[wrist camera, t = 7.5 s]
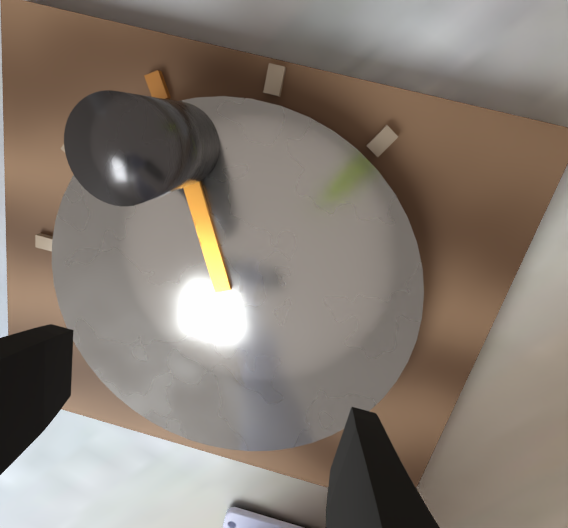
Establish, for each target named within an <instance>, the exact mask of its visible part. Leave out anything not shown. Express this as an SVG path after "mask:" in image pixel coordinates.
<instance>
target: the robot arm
mask: <svg viewBox="0 0 568 528" xmlns="http://www.w3.org/2000/svg"><path fill="white" fill-rule="evenodd" d="M73 331H74V330H71V329H68V328H64V327H60V326H57V325H53V324H49V325H45V326H40V327H37V328H33V329H29V330H26V331H22V332H19V333H15V334H12V335H9V336H5V337H2V338H0V475H1V474H2V473H3V472H4V471H5V470H6V469H7V468H8V467H9V466H10V465H11V464H12V463H13V462H14V461H15V460H16V459H17V458H18V457H19V456H20V455H21V454H22V453H23V451H24V450H25V449H26V448H27V447H28V446H29V445H30V444H31V443H32V442H33V441H34V440H35V439H36V438H37V437H38V436H39V435H40V434H41V433H42V432H43V431H44V430H45V428H46V427H47V426H48V425H49V424H50V422H51V421H52V420H53V419H54V417H55V416H56V415H57V413H58V412H59V411H60V410H61V408H62V407H63V406H64V404H65V403H66V402H67V400H68V399H69V398H70V396H71V381H72V356H73ZM223 528H304V527H300V526H297V525H294V524H290V523H287V522H284V521H280V520H277V519H274V518H270V517H267V516H264V515H260V514H257V513H254V512H250V511H247V510H244V509H241V508H237V507H230V508H229V509H228V510H227V512H226V515H225V520H224V524H223ZM326 528H439V526H438V524H437V523H436V521H435V520H434V518H433V516H432V515H431V513H430V511H429V510H428V508H427V506H426V505H425V503H424V501H423V500H422V498H421V496H420V494H419V493H418V491H417V489H416V487H415V486H414V484H413V482H412V480H411V478H410V477H409V475H408V473H407V471H406V469H405V468H404V466H403V464H402V462H401V460H400V458H399V456H398V454H397V452H396V450H395V449H394V447H393V445H392V443H391V441H390V439H389V437H388V435H387V433H386V431H385V429H384V427H383V425H382V423H381V421H380V419H379V417H378V415H377V414H376V413H373V412H370V411H366V410H362V409H359V408H355V407H351V410H350V413H349V416H348V419H347V421H346V424H345V427H344V430H343V433H342V436H341V439H340V442H339V445H338V448H337V451H336V454H335V457H334V460H333V463H332V466H331V469H330V476H329V486H328V496H327V507H326Z"/></svg>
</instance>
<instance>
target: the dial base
mask: <svg viewBox="0 0 568 528" xmlns="http://www.w3.org/2000/svg"><path fill="white" fill-rule="evenodd" d="M1 34H2V77H3V121H4V164H5V208H6V251H7V295H8V336H9V335H12V334H15V333H19V332H22V331H26V330H29V329H33V328H37V327H40V326H45V325H49V324H53V325H57V326H60V327H64V328H67V327H66V324H65V321H64V319H63V316H62V313H61V311H60V308H59V304H58V300H57V296H56V291H55V287H54V280H53V271H52V239H53V233H54V227H55V220H56V217H57V213H58V210H59V207H60V204H61V200H62V197H63V195H64V193H65V191H66V189H67V187H68V185H69V183H70V181H71V179H72V177H73V175H74V174H73V172H72V171H71V169H70V166H69V164H68V161H67V158H66V154H65V149H64V131H65V126H66V122H67V119H68V117H69V115H70V113H71V111H72V110H73V108H74V107H75V106H76V105H77V103H78V102H79V101H81V100H82V99H83V98H85V97H86V96H88V95H90V94H92V93H95V92H99V91H105V90H112V91H120V92H126V93H132V94H138V95H144V96H150V97H156V98H162V99H168V100H174V101H181V100H186V99H191V98H197V97H217V96H227V97H238V98H248V99H255V100H259V101H263V102H267V103H271V104H275V105H280V106H283V107H285V108H288V109H290V110H293V111H295V112H298V113H300V114H303V115H305V116H308V117H310V118H312V119H314V120H315V121H317V122H319V123H321V124H322V125H324V126H326V127H328V128H330V129H331V130H333V131H335V132H336V133H337V134H339V135H340V136H341V137H342V138H344V139H345V140H346V141H348V142H349V143H350V144H352V145H353V146H354V147H355V148H357V149H358V150H359V151H360V152H361V153H362V154H363V155H364V156H365V157H366V159H367V160H368V161H369V162H370V163H371V164H372V165H373V166H374V167H375V168H376V169H377V170H378V171H379V173H380V174H381V175H382V177H383V178H384V179H385V181H386V182H387V183H388V185H389V186H390V188H391V189H392V190H393V192H394V193H395V195H396V197H397V198H398V200H399V202H400V204H401V206H402V208H403V210H404V211H405V213H406V215H407V217H408V219H409V222H410V225H411V227H412V230H413V233H414V236H415V238H416V241H417V244H418V249H419V254H420V259H421V263H422V268H423V283H424V301H423V313H422V320H421V324H420V328H419V333H418V337H417V341H416V343H415V346H414V348H413V351H412V353H411V356H410V358H409V361H408V363H407V364H406V366H405V368H404V370H403V371H402V373H401V375H400V376H399V378H398V380H397V381H396V383H395V384H394V385H393V386H392V388H391V389H390V390H389V391H388V393H387V394H386V395H385V396H384V398H383V399H382V400H381V401H380V402H379V403H377V404H376V405H375V406H374V407H373V408H372V409H371V410H370V412H373V413H376V414H377V415H378V417H379V419H380V421H381V423H382V425H383V427H384V429H385V431H386V433H387V435H388V437H389V439H390V441H391V443H392V445H393V447H394V449H395V450H396V452H397V454H398V456H399V458H400V460H401V462H402V464H403V466H404V468H405V469H406V471H407V473H408V475H409V477H410V478H411V480H412V482H413V484H414V486H415V487H417V485H418V483H419V481H420V479H421V477H422V474H423V472H424V470H425V468H426V466H427V464H428V462H429V459H430V457H431V455H432V453H433V451H434V449H435V447H436V444H437V442H438V440H439V438H440V436H441V434H442V432H443V430H444V427H445V425H446V423H447V421H448V419H449V417H450V415H451V412H452V410H453V408H454V406H455V404H456V402H457V400H458V397H459V395H460V393H461V391H462V389H463V387H464V385H465V382H466V380H467V378H468V376H469V374H470V372H471V370H472V367H473V365H474V363H475V361H476V359H477V357H478V355H479V352H480V350H481V348H482V346H483V344H484V342H485V340H486V337H487V335H488V333H489V331H490V329H491V327H492V325H493V322H494V320H495V318H496V316H497V314H498V312H499V310H500V307H501V305H502V303H503V301H504V299H505V297H506V295H507V292H508V290H509V288H510V286H511V284H512V282H513V280H514V278H515V275H516V273H517V271H518V269H519V267H520V265H521V263H522V260H523V258H524V256H525V254H526V252H527V250H528V248H529V245H530V243H531V241H532V239H533V237H534V235H535V233H536V230H537V228H538V226H539V224H540V222H541V220H542V218H543V215H544V213H545V211H546V209H547V207H548V205H549V203H550V200H551V198H552V196H553V194H554V192H555V190H556V188H557V185H558V183H559V181H560V179H561V177H562V175H563V173H564V170H565V168H566V166H567V164H568V127H564V126H559V125H555V124H551V123H546V122H542V121H538V120H534V119H529V118H525V117H521V116H516V115H512V114H508V113H504V112H499V111H495V110H491V109H486V108H482V107H478V106H474V105H469V104H465V103H461V102H456V101H452V100H448V99H444V98H439V97H435V96H431V95H427V94H422V93H418V92H414V91H409V90H405V89H401V88H397V87H392V86H388V85H384V84H379V83H375V82H371V81H367V80H362V79H358V78H354V77H349V76H345V75H341V74H337V73H332V72H328V71H324V70H319V69H315V68H311V67H307V66H302V65H298V64H294V63H289V62H285V61H281V60H277V59H272V58H268V57H264V56H260V55H255V54H251V53H247V52H242V51H238V50H234V49H230V48H225V47H221V46H217V45H212V44H208V43H204V42H200V41H195V40H191V39H187V38H182V37H178V36H174V35H170V34H165V33H161V32H157V31H152V30H148V29H144V28H140V27H135V26H131V25H127V24H122V23H118V22H114V21H110V20H105V19H101V18H97V17H93V16H88V15H84V14H80V13H75V12H71V11H67V10H63V9H58V8H54V7H50V6H45V5H41V4H37V3H33V2H28V1H24V0H1ZM61 409H63V410H66V411H69V412H73V413H76V414H80V415H83V416H86V417H90V418H93V419H97V420H100V421H103V422H107V423H110V424H114V425H117V426H120V427H124V428H127V429H131V430H134V431H137V432H141V433H144V434H148V435H151V436H154V437H158V438H161V439H165V440H168V441H171V442H175V443H178V444H182V445H185V446H188V447H192V448H195V449H199V450H202V451H205V452H209V453H212V454H216V455H219V456H222V457H226V458H229V459H233V460H236V461H239V462H243V463H246V464H250V465H253V466H256V467H260V468H263V469H267V470H270V471H273V472H277V473H280V474H284V475H287V476H290V477H294V478H297V479H301V480H304V481H307V482H311V483H314V484H318V485H321V486H324V487H328V486H329V476H330V469H331V466H332V463H333V460H334V457H335V454H336V451H337V448H338V445H339V442H340V439H341V436H342V433H343V430H344V429H342V430H341V431H339V432H337V433H335V434H333V435H331V436H329V437H326V438H323V439H321V440H318V441H316V442H313V443H309V444H306V445H302V446H298V447H294V448H288V449H281V450H273V451H241V450H230V449H224V448H219V447H214V446H209V445H205V444H202V443H199V442H195V441H192V440H189V439H186V438H184V437H181V436H179V435H176V434H174V433H172V432H169V431H167V430H165V429H164V428H162V427H160V426H158V425H156V424H154V423H152V422H150V421H149V420H147V419H146V418H144V417H143V416H141V415H140V414H138V413H137V412H135V411H134V410H133V409H131V408H130V407H129V406H128V405H126V404H125V403H124V402H123V401H122V400H120V399H119V398H118V397H117V396H116V395H115V394H114V393H113V392H112V391H111V390H110V389H109V388H108V387H107V386H106V385H105V384H104V383H103V382H102V381H101V380H100V379H99V378H98V376H97V375H96V374H95V373H94V371H93V370H92V369H91V368H90V366H89V365H88V364H87V362H86V361H85V359H84V358H83V356H82V355H81V353H80V351H79V350H78V348H77V347H76V345H75V343H74V341H73V356H72V381H71V396H70V398H69V399H68V400H67V402H66V403H65V404H64V406H63V407H62V408H61Z"/></svg>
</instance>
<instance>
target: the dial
mask: <svg viewBox="0 0 568 528" xmlns="http://www.w3.org/2000/svg"><path fill="white" fill-rule="evenodd" d="M64 149H65V154H66V158H67V161H68V164H69V166H70V169H71V171H72V172H73V174H74V175H73V177H72V179H71V181H70V183H69V185H68V187H67V189H66V191H65V193H64V195H63V197H62V200H61V204H60V207H59V210H58V213H57V217H56V220H55V227H54V233H53V239H52V271H53V280H54V287H55V291H56V296H57V300H58V304H59V308H60V311H61V313H62V316H63V319H64V321H65V324H66V327H67V328H68V329H71V330H74V331H73V341H74V343H75V345H76V347H77V348H78V350H79V351H80V353H81V355H82V356H83V358H84V359H85V361H86V362H87V364H88V365H89V366H90V368H91V369H92V370H93V371H94V373H95V374H96V375H97V376H98V378H99V379H100V380H101V381H102V382H103V383H104V384H105V385H106V386H107V387H108V388H109V389H110V390H111V391H112V392H113V393H114V394H115V395H116V396H117V397H118V398H119V399H120V400H122V401H123V402H124V403H125V404H126V405H128V406H129V407H130V408H131V409H133V410H134V411H135V412H137V413H138V414H140V415H141V416H143V417H144V418H146V419H147V420H149V421H150V422H152V423H154V424H156V425H158V426H160V427H162V428H164V429H165V430H167V431H169V432H172V433H174V434H176V435H179V436H181V437H184V438H186V439H189V440H192V441H195V442H199V443H202V444H205V445H209V446H214V447H219V448H224V449H230V450H241V451H273V450H281V449H288V448H294V447H298V446H302V445H306V444H309V443H313V442H316V441H318V440H321V439H323V438H326V437H329V436H331V435H333V434H335V433H337V432H339V431H341V430H342V429H344V427H345V424H346V421H347V419H348V416H349V413H350V410H351V407H355V408H359V409H362V410H366V411H370V410H371V409H372V408H373V407H374V406H375V405H376V404H377V403H379V402H380V401H381V400H382V399H383V398H384V396H385V395H386V394H387V393H388V391H389V390H390V389H391V388H392V386H393V385H394V384H395V383H396V381H397V380H398V378H399V376H400V375H401V373H402V371H403V370H404V368H405V366H406V364H407V363H408V361H409V358H410V356H411V353H412V351H413V348H414V346H415V343H416V341H417V337H418V333H419V328H420V324H421V320H422V313H423V301H424V283H423V268H422V263H421V259H420V254H419V249H418V244H417V241H416V238H415V236H414V233H413V230H412V227H411V225H410V222H409V219H408V217H407V215H406V213H405V211H404V210H403V208H402V206H401V204H400V202H399V200H398V198H397V197H396V195H395V193H394V192H393V190H392V189H391V188H390V186H389V185H388V183H387V182H386V181H385V179H384V178H383V177H382V175H381V174H380V173H379V171H378V170H377V169H376V168H375V167H374V166H373V165H372V164H371V163H370V162H369V161H368V160H367V159H366V157H365V156H364V155H363V154H362V153H361V152H360V151H359V150H358V149H357V148H355V147H354V146H353V145H352V144H350V143H349V142H348V141H346V140H345V139H344V138H342V137H341V136H340V135H339V134H337V133H336V132H335V131H333V130H331V129H330V128H328V127H326V126H324V125H322V124H321V123H319V122H317V121H315V120H314V119H312V118H310V117H308V116H305V115H303V114H300V113H298V112H295V111H293V110H290V109H288V108H285V107H283V106H280V105H275V104H271V103H267V102H263V101H259V100H255V99H248V98H238V97H227V96H217V97H197V98H191V99H186V100H181V101H174V100H168V99H162V98H156V97H150V96H144V95H138V94H132V93H126V92H120V91H112V90H105V91H99V92H95V93H92V94H90V95H88V96H86V97H85V98H83V99H82V100H81V101H79V102H78V103H77V105H76V106H75V107H74V108H73V110H72V111H71V113H70V115H69V117H68V119H67V122H66V126H65V131H64Z"/></svg>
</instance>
